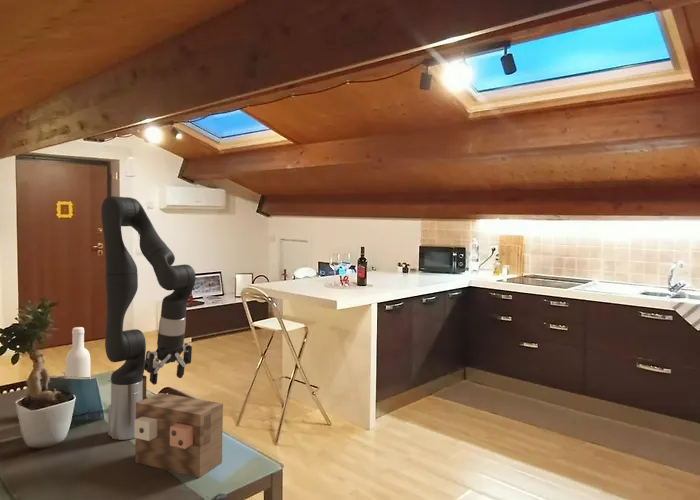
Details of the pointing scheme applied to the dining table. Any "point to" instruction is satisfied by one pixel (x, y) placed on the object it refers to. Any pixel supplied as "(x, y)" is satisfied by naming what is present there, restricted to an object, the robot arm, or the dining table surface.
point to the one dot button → (146, 428)
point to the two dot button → (181, 435)
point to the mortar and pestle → (144, 387)
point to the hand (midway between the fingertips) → (166, 380)
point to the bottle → (78, 355)
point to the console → (186, 411)
